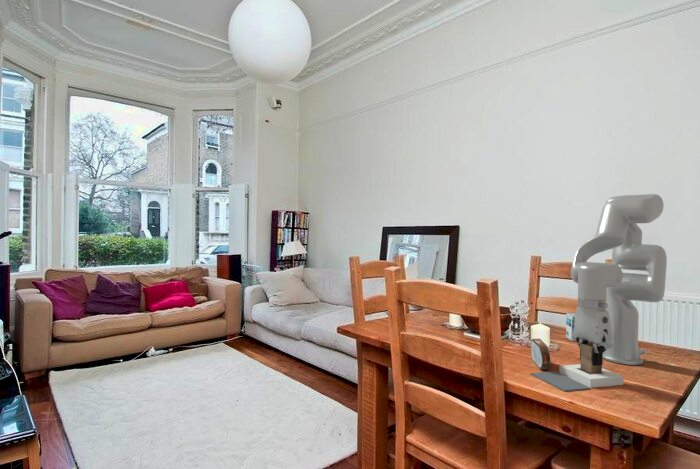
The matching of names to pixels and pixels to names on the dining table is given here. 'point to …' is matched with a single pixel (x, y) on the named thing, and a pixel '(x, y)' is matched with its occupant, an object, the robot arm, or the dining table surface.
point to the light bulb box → (570, 326)
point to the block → (589, 359)
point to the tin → (540, 354)
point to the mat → (560, 381)
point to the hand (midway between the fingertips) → (591, 362)
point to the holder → (591, 376)
